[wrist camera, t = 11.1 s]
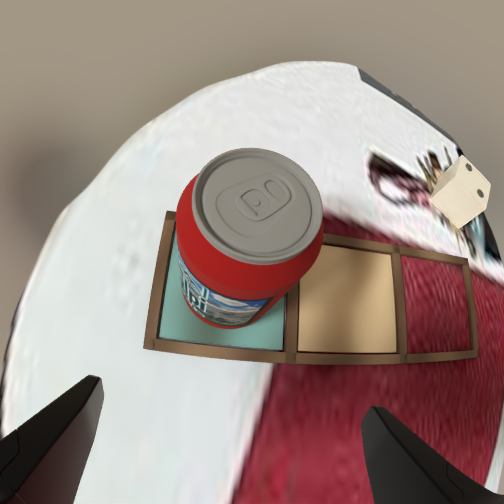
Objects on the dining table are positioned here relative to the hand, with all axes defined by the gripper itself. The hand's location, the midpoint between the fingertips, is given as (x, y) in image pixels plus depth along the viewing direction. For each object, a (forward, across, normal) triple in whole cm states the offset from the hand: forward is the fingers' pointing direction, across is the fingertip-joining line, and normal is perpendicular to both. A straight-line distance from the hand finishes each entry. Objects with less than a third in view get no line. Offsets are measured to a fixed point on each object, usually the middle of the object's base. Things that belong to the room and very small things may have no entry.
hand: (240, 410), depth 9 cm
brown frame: (+15, -10, +3) cm, 18 cm away
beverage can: (+14, 0, +3) cm, 15 cm away
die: (+24, -24, -6) cm, 35 cm away
